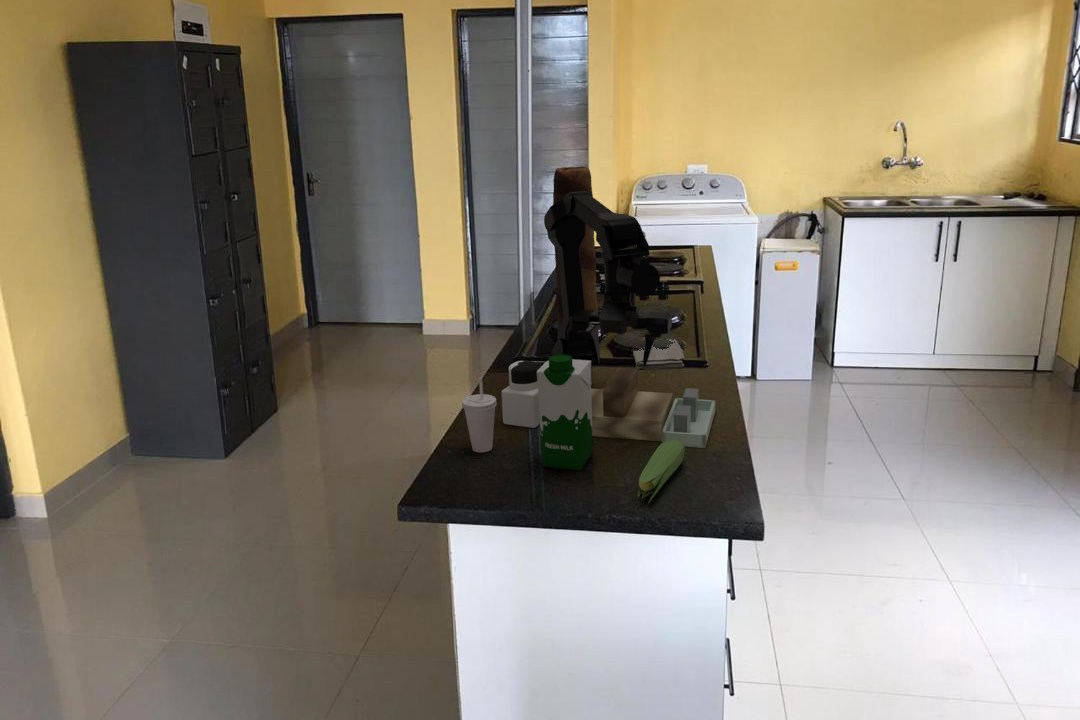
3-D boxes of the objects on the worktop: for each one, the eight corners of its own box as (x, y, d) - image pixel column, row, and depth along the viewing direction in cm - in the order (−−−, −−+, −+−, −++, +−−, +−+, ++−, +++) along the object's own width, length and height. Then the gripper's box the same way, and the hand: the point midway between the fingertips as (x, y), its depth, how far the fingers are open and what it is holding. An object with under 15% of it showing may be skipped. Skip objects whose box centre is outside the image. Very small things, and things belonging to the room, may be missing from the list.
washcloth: (636, 372, 200) (636, 360, 199) (627, 349, 217) (627, 337, 216) (687, 370, 200) (687, 357, 199) (674, 347, 217) (674, 335, 216)
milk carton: (536, 468, 152) (531, 360, 146) (552, 448, 160) (548, 344, 154) (584, 473, 150) (581, 363, 143) (598, 452, 158) (595, 347, 151)
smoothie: (494, 456, 158) (490, 384, 154) (460, 454, 159) (455, 383, 155) (503, 442, 164) (498, 372, 160) (470, 440, 165) (465, 371, 161)
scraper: (603, 416, 164) (602, 391, 162) (618, 391, 176) (618, 367, 175) (624, 417, 162) (623, 392, 161) (637, 392, 175) (637, 368, 174)
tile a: (682, 397, 168) (695, 397, 167) (685, 388, 172) (698, 388, 172) (682, 420, 169) (695, 421, 168) (685, 411, 174) (698, 412, 173)
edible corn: (693, 439, 151) (669, 429, 153) (655, 491, 135) (628, 479, 136) (684, 463, 154) (661, 453, 155) (646, 517, 137) (620, 505, 138)
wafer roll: (554, 356, 213) (547, 169, 199) (560, 343, 223) (554, 165, 209) (596, 356, 211) (592, 168, 197) (600, 343, 221) (597, 164, 207)
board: (572, 434, 166) (572, 415, 165) (590, 406, 180) (590, 388, 178) (661, 441, 161) (661, 421, 160) (672, 412, 175) (672, 393, 174)
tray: (661, 444, 160) (661, 432, 159) (675, 409, 176) (675, 397, 175) (705, 448, 158) (705, 435, 157) (715, 412, 174) (715, 400, 173)
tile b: (673, 414, 159) (687, 415, 158) (677, 404, 164) (690, 405, 163) (673, 439, 161) (687, 440, 160) (677, 429, 165) (690, 430, 165)
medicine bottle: (550, 415, 176) (547, 359, 172) (535, 428, 170) (532, 370, 166) (518, 411, 179) (515, 356, 175) (502, 424, 172) (499, 367, 169)
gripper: (560, 294, 157) (563, 375, 162) (663, 296, 152) (663, 380, 157) (575, 280, 167) (578, 357, 172) (672, 282, 162) (672, 361, 167)
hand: (621, 364), depth 167 cm, fingers open, 9 cm apart
